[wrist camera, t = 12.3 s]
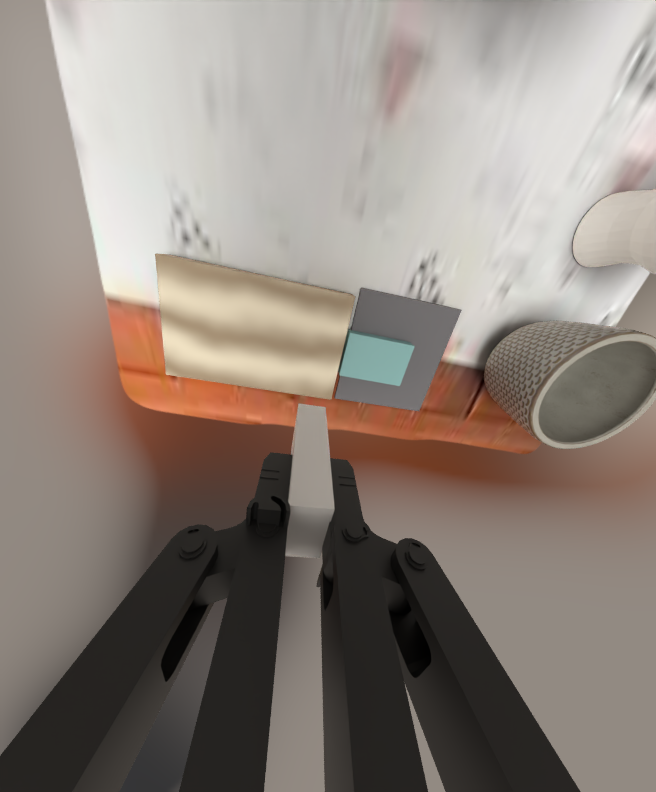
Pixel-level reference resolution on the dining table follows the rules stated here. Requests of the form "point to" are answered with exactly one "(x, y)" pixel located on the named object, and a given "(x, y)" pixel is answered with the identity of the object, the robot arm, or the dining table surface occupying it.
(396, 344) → the teal foam pad
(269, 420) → the dining table surface
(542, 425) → the planter
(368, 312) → the mat
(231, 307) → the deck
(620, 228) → the white vase
